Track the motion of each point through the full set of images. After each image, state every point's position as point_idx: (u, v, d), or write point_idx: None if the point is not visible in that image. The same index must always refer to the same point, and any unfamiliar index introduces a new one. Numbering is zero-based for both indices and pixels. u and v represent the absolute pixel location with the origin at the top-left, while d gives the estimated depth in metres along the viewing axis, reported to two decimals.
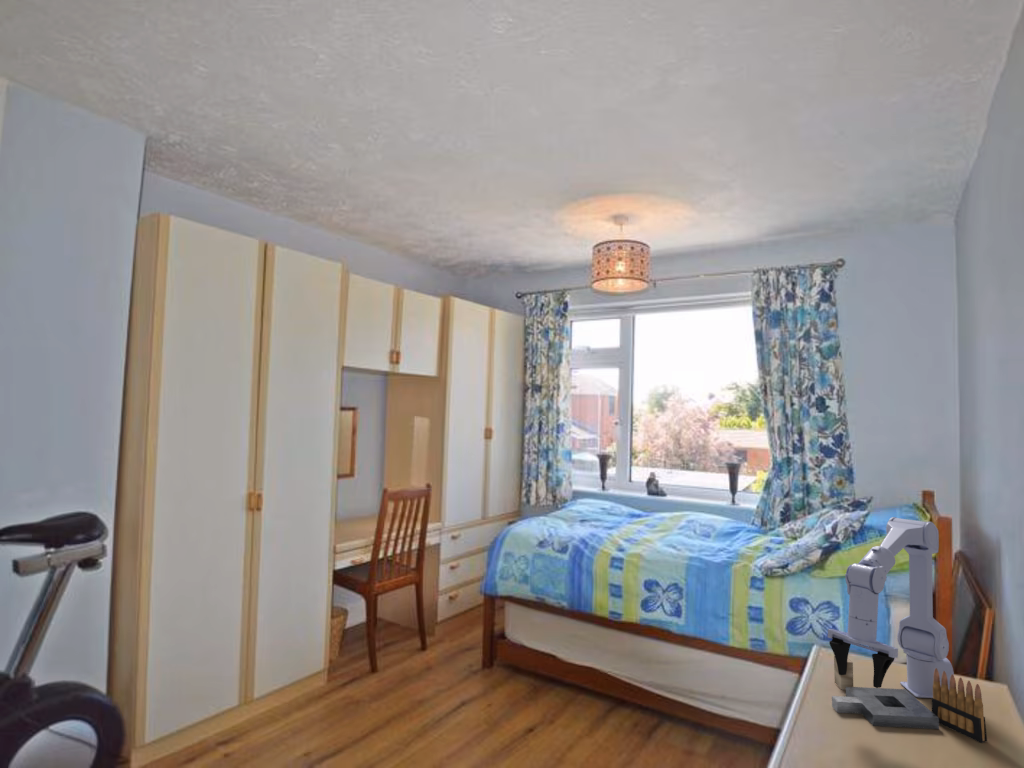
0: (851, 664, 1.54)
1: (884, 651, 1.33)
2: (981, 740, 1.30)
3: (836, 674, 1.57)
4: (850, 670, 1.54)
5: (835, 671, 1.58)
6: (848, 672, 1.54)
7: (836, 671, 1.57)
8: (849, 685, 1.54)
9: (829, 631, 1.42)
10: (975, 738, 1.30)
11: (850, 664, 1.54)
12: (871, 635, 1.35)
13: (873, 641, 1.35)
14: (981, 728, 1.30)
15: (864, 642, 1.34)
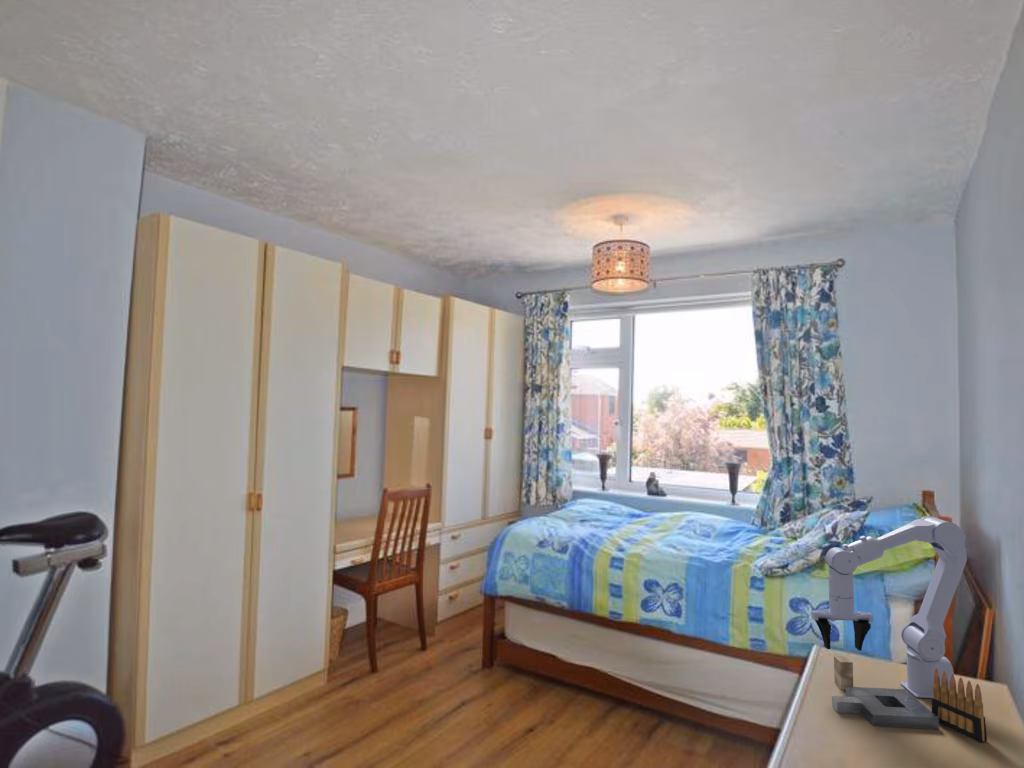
0: (851, 664, 1.54)
1: None
2: (981, 740, 1.30)
3: (836, 674, 1.57)
4: (850, 670, 1.54)
5: (835, 671, 1.58)
6: (848, 672, 1.54)
7: (836, 671, 1.57)
8: (849, 685, 1.54)
9: None
10: (975, 738, 1.30)
11: (850, 664, 1.54)
12: (829, 605, 1.59)
13: (829, 610, 1.58)
14: (981, 728, 1.30)
15: None
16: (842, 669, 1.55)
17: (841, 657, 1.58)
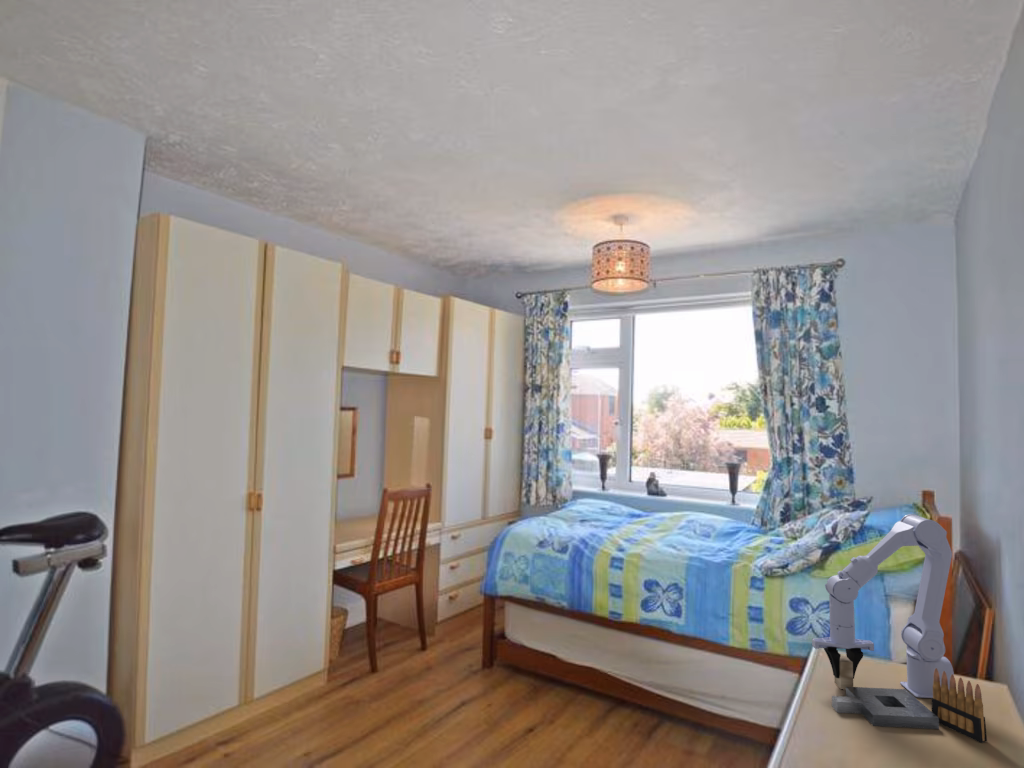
0: (851, 664, 1.54)
1: None
2: (981, 740, 1.30)
3: None
4: (850, 670, 1.54)
5: None
6: (848, 672, 1.54)
7: None
8: (849, 685, 1.54)
9: None
10: (975, 738, 1.30)
11: (850, 664, 1.54)
12: (830, 633, 1.58)
13: (830, 638, 1.58)
14: (981, 728, 1.30)
15: None
16: (842, 669, 1.55)
17: (841, 657, 1.58)
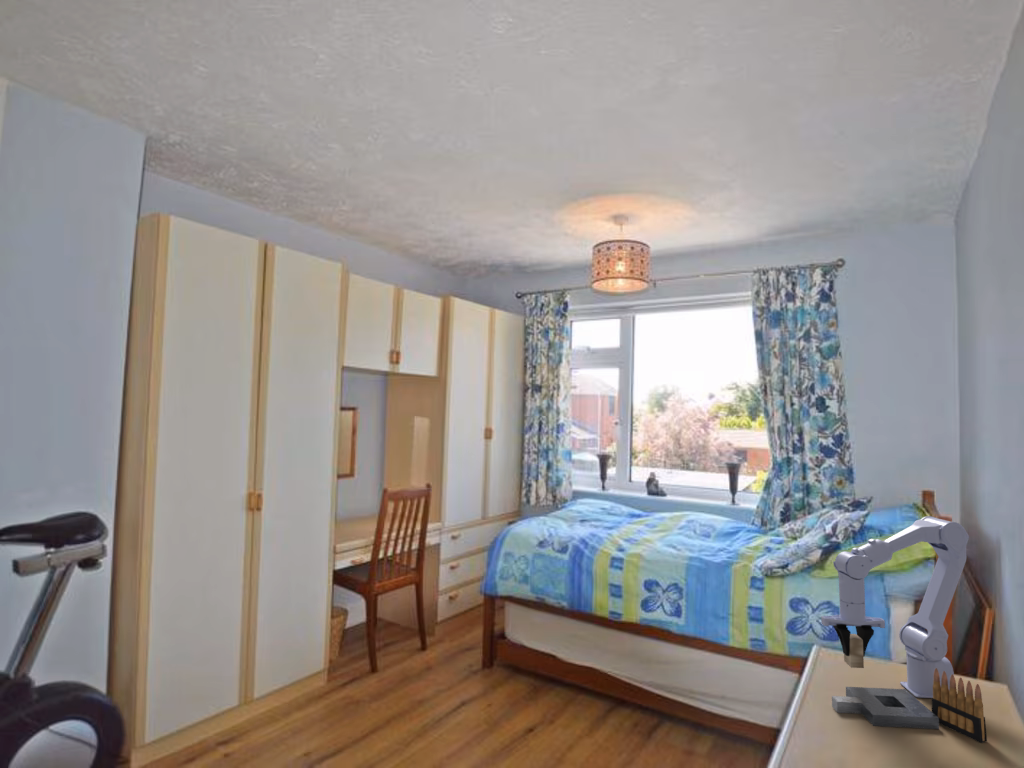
0: (861, 641, 1.51)
1: None
2: (981, 740, 1.30)
3: None
4: (860, 647, 1.51)
5: None
6: (858, 649, 1.51)
7: None
8: (859, 663, 1.51)
9: None
10: (975, 738, 1.30)
11: (860, 641, 1.51)
12: None
13: (840, 616, 1.55)
14: (981, 728, 1.30)
15: None
16: (852, 647, 1.52)
17: (851, 634, 1.55)
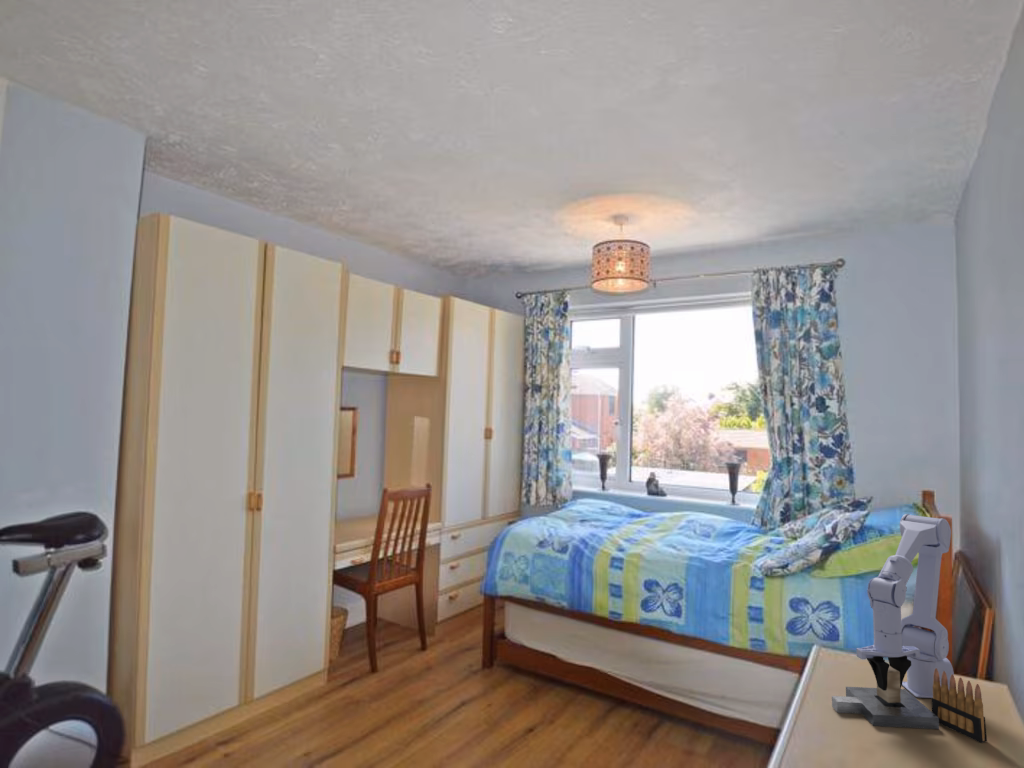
0: (898, 674, 1.42)
1: None
2: (981, 740, 1.30)
3: None
4: (897, 680, 1.41)
5: None
6: (895, 682, 1.41)
7: None
8: (896, 697, 1.41)
9: None
10: (975, 738, 1.30)
11: (897, 674, 1.42)
12: (874, 641, 1.45)
13: (875, 647, 1.44)
14: (981, 728, 1.30)
15: None
16: (890, 680, 1.41)
17: None
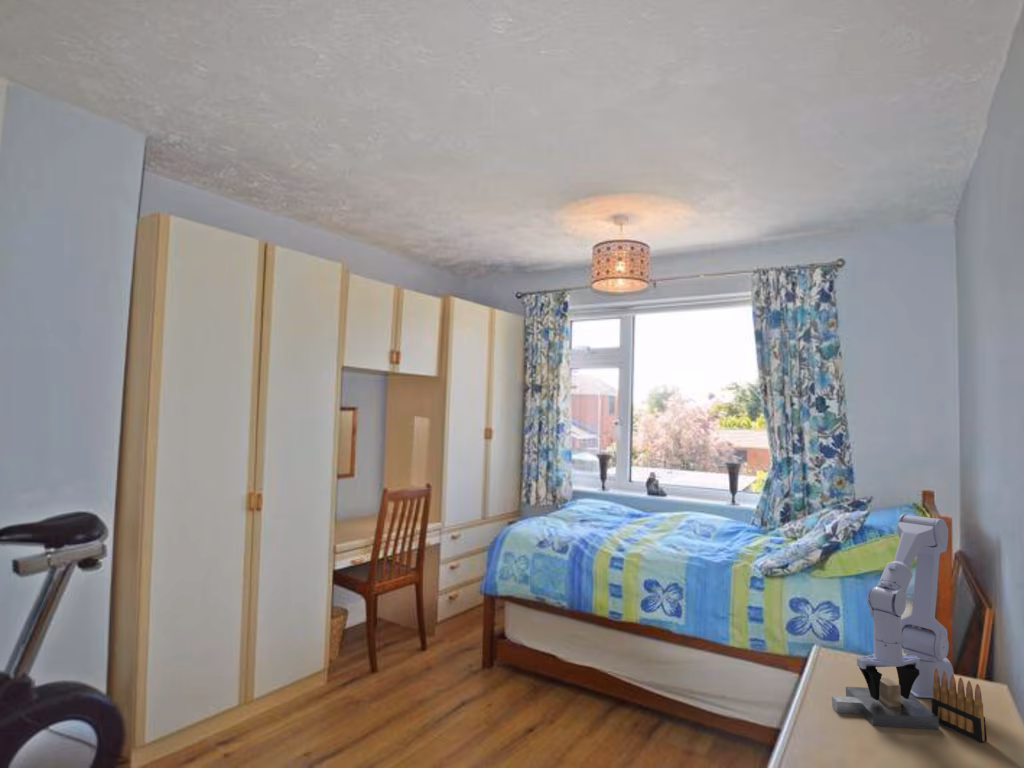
0: (899, 687, 1.41)
1: None
2: (981, 740, 1.30)
3: (880, 699, 1.44)
4: (898, 694, 1.41)
5: None
6: (896, 696, 1.41)
7: (880, 695, 1.44)
8: None
9: None
10: (975, 738, 1.30)
11: (898, 687, 1.41)
12: (874, 650, 1.44)
13: (875, 656, 1.44)
14: (981, 728, 1.30)
15: None
16: (890, 694, 1.41)
17: (884, 679, 1.45)
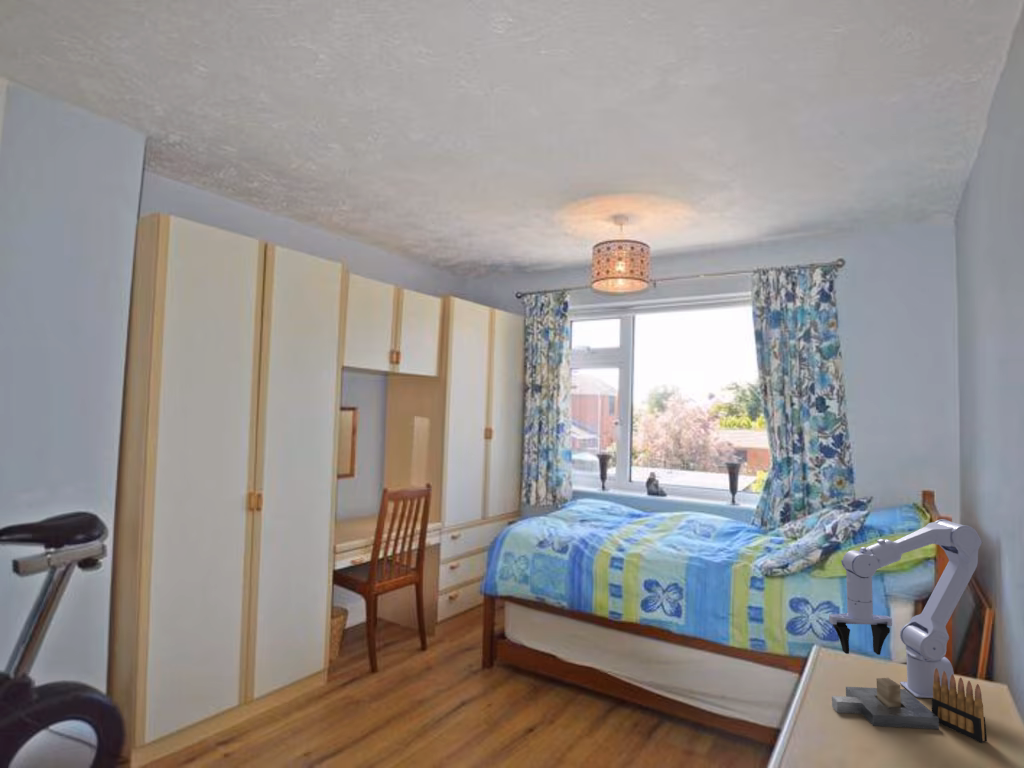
0: (898, 687, 1.41)
1: None
2: (981, 740, 1.30)
3: (880, 699, 1.44)
4: (898, 694, 1.41)
5: (879, 695, 1.44)
6: (896, 696, 1.41)
7: (880, 695, 1.44)
8: None
9: None
10: (975, 738, 1.30)
11: (898, 687, 1.41)
12: (847, 609, 1.56)
13: (847, 614, 1.56)
14: (981, 728, 1.30)
15: None
16: (890, 694, 1.41)
17: (884, 679, 1.45)
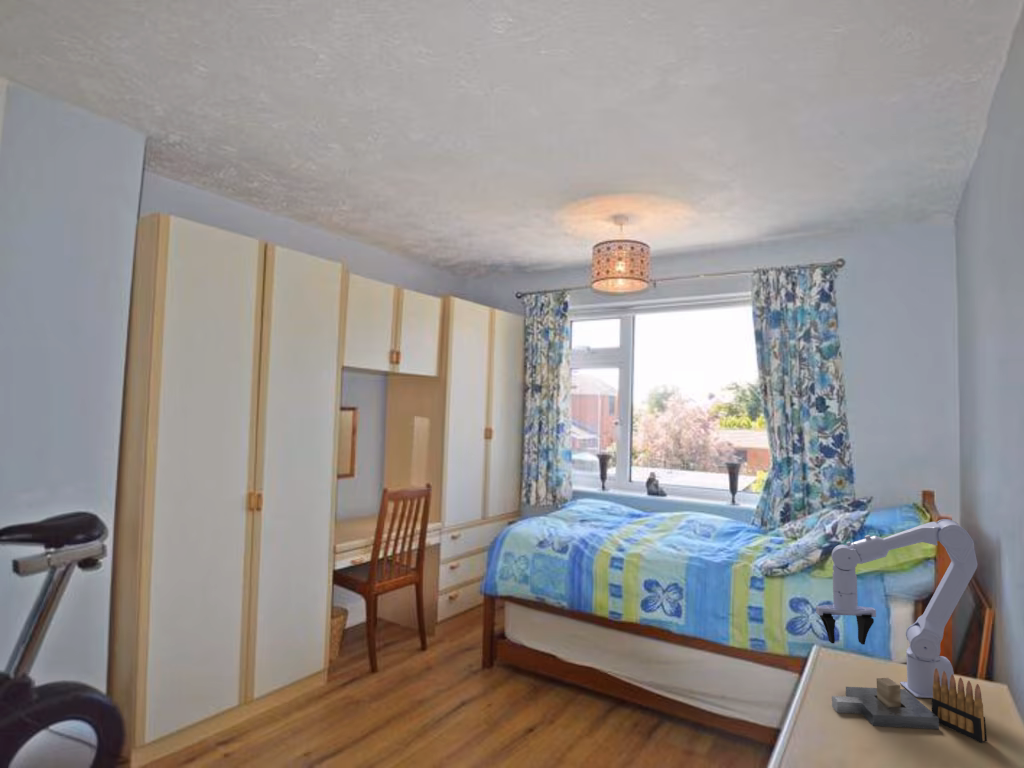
0: (898, 687, 1.41)
1: None
2: (981, 740, 1.30)
3: (880, 699, 1.44)
4: (898, 694, 1.41)
5: (879, 695, 1.44)
6: (896, 696, 1.41)
7: (880, 695, 1.44)
8: None
9: None
10: (975, 738, 1.30)
11: (898, 687, 1.41)
12: (833, 600, 1.63)
13: (833, 606, 1.63)
14: (981, 728, 1.30)
15: None
16: (890, 694, 1.41)
17: (884, 679, 1.45)
